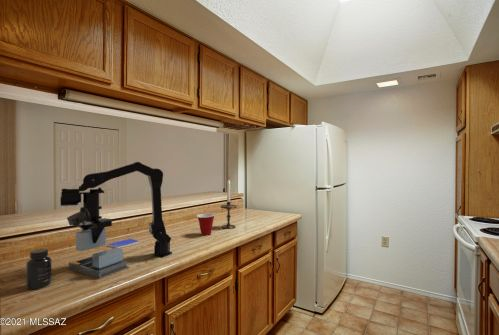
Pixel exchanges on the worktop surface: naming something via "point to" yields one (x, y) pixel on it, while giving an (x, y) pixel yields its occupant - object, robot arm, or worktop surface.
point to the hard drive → (123, 243)
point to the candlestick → (228, 208)
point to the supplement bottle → (38, 269)
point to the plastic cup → (206, 223)
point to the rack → (101, 263)
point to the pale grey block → (89, 240)
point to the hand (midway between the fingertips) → (91, 242)
